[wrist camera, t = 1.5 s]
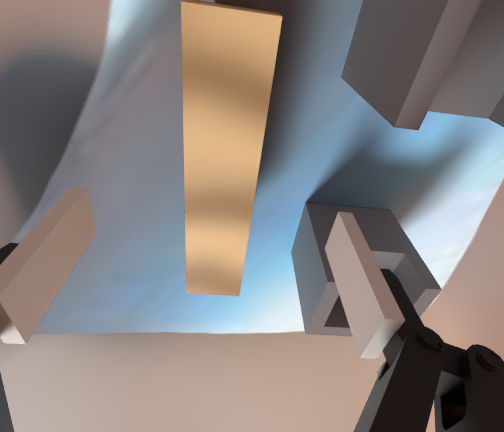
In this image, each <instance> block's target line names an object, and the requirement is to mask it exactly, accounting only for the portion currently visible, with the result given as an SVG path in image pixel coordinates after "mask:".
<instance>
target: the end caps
mask: <svg viewBox="0 0 504 432" xmlns="http://www.w3.org/2000/svg"><path fill="white" fill-rule="evenodd" d="M341 78H342V79H343V80H344V81H346V82H347V83H348V84H349V85H350V86H351V87H352V88H353V89H354V90H355V91H356V92H357V93H358V94H359V95H360V96H361V97H363V98H364V99H365V100H366V101H367V102H368V103H369V104H370V105H371V106H372V107H373V108H374V109H375V110H376V111H377V112H378V113H380V114H381V115H382V116H383V117H384V118H385V119H386V120H387V121H388V122H389V123H390V124H391V125H392V126H393V127H397V128H405V129H413V130H419V128H420V126H421V124H422V122H423V120H424V118H425V116H426V114H427V112H428V111H432V112H440V113H448V114H456V115H464V116H472V117H480V118H488V119H490V120H492V121H494V122H496V123H497V124H499V125H501V126H503V127H504V0H363V3H362V7H361V10H360V14H359V17H358V21H357V24H356V28H355V31H354V35H353V38H352V42H351V45H350V49H349V52H348V56H347V59H346V63H345V66H344V70H343V73H342V77H341ZM338 212H349V213H352V214H353V216H354V218H355V220H356V222H357V224H358V226H359V228H360V230H361V232H362V234H363V236H364V238H365V240H366V242H367V244H368V246H369V248H370V250H371V252H372V254H373V256H374V258H375V260H376V262H377V264H378V266H379V268H381V269H390V270H391V271H392V272H393V273H394V274H395V275H396V276H397V277H398V279H399V281H400V283H401V284H402V286H403V289H404V290H405V292H406V294H407V297H409V299H410V301H411V303H412V305H413V306H414V308H415V310H416V312H417V314H418V316H419V317H420V316H421V315H422V313H423V312H424V311H425V310H426V309H427V308H428V306H429V305H430V304H431V303H432V301H433V300H434V299H435V298H436V296H437V295H438V294H439V293H440V291H441V290H442V289H441V288H440V286H439V284H438V283H437V281H436V280H435V278H434V277H433V275H432V274H431V272H430V271H429V269H428V268H427V266H426V264H425V263H424V261H423V260H422V258H421V257H420V255H419V254H418V252H417V251H416V249H415V248H414V246H413V244H412V243H411V241H410V240H409V238H408V237H407V235H406V234H405V232H404V231H403V229H402V228H401V226H400V224H399V223H398V221H397V220H396V218H395V217H394V215H393V214H392V212H391V211H390V210H382V209H372V208H361V207H350V206H339V205H328V204H318V203H307V202H306V203H305V206H304V210H303V213H302V217H301V220H300V224H299V227H298V231H297V234H296V238H295V241H294V245H293V248H292V252H291V253H292V259H293V265H294V271H295V276H296V282H297V288H298V294H299V299H300V305H301V311H302V317H303V322H304V328H305V333H306V334H316V335H337V336H352V333H351V329H350V326H349V323H348V320H347V317H346V314H345V311H344V308H343V304H342V301H341V298H340V295H339V292H338V289H337V286H336V283H335V279H334V276H333V273H332V270H331V267H330V264H329V261H328V258H327V254H326V251H325V246H326V244H327V241H328V238H329V235H330V233H331V230H332V227H333V225H334V222H335V219H336V216H337V214H338Z"/></svg>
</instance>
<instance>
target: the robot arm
mask: <svg viewBox="0 0 504 432" xmlns="http://www.w3.org/2000/svg"><path fill="white" fill-rule="evenodd" d="M95 232H96V228H95V224H94V220H93V216H92V212H91V208H90V204H89V200H88V196H87V192H86V189H78V188H69V189H68V190H67V191H66V193H65V194H64V195H63V196H62V197H61V198H60V199H59V200H58V201H57V203H56V204H55V205H54V206H53V207H52V208H51V209H50V210H49V211H48V213H47V214H46V215H45V216H44V217H43V218H42V219H41V220H40V221H39V223H38V224H37V225H36V226H35V227H34V228H33V229H32V230H31V231H30V233H29V234H28V235H27V236H26V237H25V238H24V239H23V240H22V241H21V243H20V244H19V243H9V244H8V245H6V246H4V247H3V248H1V249H0V338H1V339H2V340H3V342H4V343H12V344H26V343H27V342H28V340H29V339H30V337H31V335H32V334H33V332H34V330H35V329H36V327H37V326H38V324H39V322H40V321H41V319H42V318H43V316H44V314H45V313H46V311H47V310H48V308H49V306H50V305H51V303H52V302H53V300H54V298H55V297H56V295H57V294H58V292H59V290H60V289H61V287H62V286H63V284H64V282H65V281H66V279H67V277H68V276H69V274H70V273H71V271H72V269H73V268H74V266H75V265H76V263H77V261H78V260H79V258H80V257H81V255H82V253H83V252H84V250H85V249H86V247H87V245H88V244H89V242H90V241H91V239H92V237H93V236H94V234H95ZM325 251H326V254H327V258H328V261H329V264H330V267H331V270H332V273H333V276H334V279H335V283H336V286H337V289H338V292H339V295H340V298H341V301H342V304H343V308H344V311H345V314H346V317H347V320H348V323H349V326H350V329H351V333H352V336H353V339H354V342H355V345H356V348H357V351H358V354H359V358H374V359H377V358H378V357H379V355H380V354H381V353H382V351H383V353H384V355H385V358H386V361H385V363H384V364H383V365H382V366H381V368H380V369H379V370H378V371H377V373H378V374H379V375H378V377H377V380H376V382H375V384H374V387H373V389H372V391H371V393H370V396H369V398H368V400H367V402H366V405H365V407H364V409H363V411H362V414H361V416H360V418H359V421H358V423H357V425H356V427H355V430H354V432H426V428H427V424H428V420H429V417H430V413H431V409H432V405H433V400H434V406H435V407H434V408H435V430H436V432H504V361H503V360H502V359H501V357H500V356H499V355H497V354H496V353H495V352H494V351H492V350H490V349H489V348H487V347H485V346H481V345H478V344H477V345H472V346H470V347H469V348H468V349H467V350H464V349H461V348H458V347H455V346H452V345H449V344H447V343H444V342H443V340H442V339H441V338H440V336H439V335H438V334H436V333H435V332H434V331H433V330H431V329H429V328H427V327H425V326H424V325H423V323H422V321H421V319H420V317H419V316H418V314H417V312H416V310H415V308H414V306H413V305H412V303H411V301H410V299H409V297H407V294H406V292H405V290H404V289H403V286H402V284H401V283H400V281H399V279H398V277H397V276H396V275H395V274H394V273H393V272H392V271H391V270H390V269H381V268H379V266H378V264H377V262H376V260H375V258H374V256H373V254H372V252H371V250H370V248H369V246H368V244H367V242H366V240H365V238H364V236H363V234H362V232H361V230H360V228H359V226H358V224H357V222H356V220H355V218H354V216H353V214H352V213H349V212H338V214H337V216H336V219H335V222H334V225H333V227H332V230H331V233H330V235H329V238H328V241H327V244H326V246H325ZM0 432H14V429H13V425H12V421H11V416H10V412H9V408H8V403H7V399H6V395H5V391H4V386H3V382H2V379H1V373H0Z"/></svg>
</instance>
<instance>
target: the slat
mask: <svg viewBox="0 0 504 432" xmlns="http://www.w3.org/2000/svg"><path fill="white" fill-rule="evenodd" d="M281 23H282V16H281V15H280V14H279V13H277V12H271V11H265V10H258V9H251V8H245V7H238V6H231V5H225V4H218V3H211V2H205V1H198V0H186V1H181V25H182V77H183V130H184V182H185V235H186V287H187V293H195V294H211V295H227V296H239V294H240V288H241V281H242V275H243V269H244V262H245V256H246V249H247V243H248V236H249V230H250V223H251V217H252V211H253V204H254V198H255V191H256V185H257V178H258V172H259V165H260V159H261V152H262V146H263V140H264V133H265V127H266V120H267V114H268V107H269V101H270V94H271V88H272V82H273V75H274V69H275V62H276V56H277V49H278V43H279V36H280V30H281Z"/></svg>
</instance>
